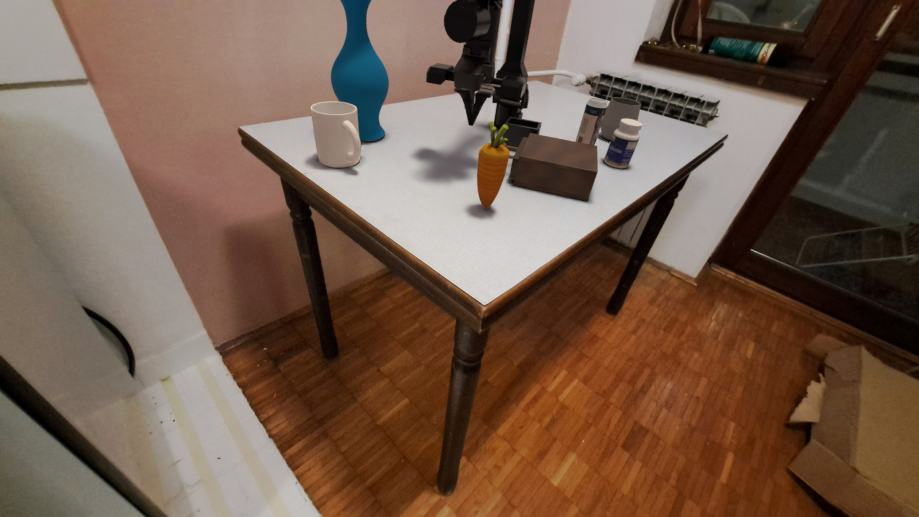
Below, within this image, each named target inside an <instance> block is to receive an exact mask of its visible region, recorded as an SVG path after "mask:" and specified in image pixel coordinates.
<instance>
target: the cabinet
mask: <svg viewBox="0 0 919 517" xmlns="http://www.w3.org/2000/svg"><path fill="white" fill-rule="evenodd" d="M598 164H599V163H598V145H596V144H595V145H590V144H585V143H579V142H575V141H574V140H569V139H564V138H559V137H553V136H549V135H548V136H547V135H543V134H539V135H538V134H533V133H530V134H529V136H528V138H527V141H526V143H525V145H524V147H523V149H522V151H521V154H520V156H519V160H518V165H517V170H516V175H515V180H514V179H513V186H516V187H521V188H526V189H531V190H534V191H540V192H543V193H548V194H554V195H557V196H563V197H567V198H572V199H574V200H576V199H577V200H580V201H585V202H588V201H589V197H590V196H591V192H592V189H593V186H594V183H595V181H596V178H597V175H598V173H599V170H598V169H599V167H598V166H599V165H598Z"/></svg>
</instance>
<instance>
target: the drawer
mask: <svg viewBox="0 0 919 517" xmlns="http://www.w3.org/2000/svg"><path fill="white" fill-rule="evenodd" d="M526 141H527V137H523V139H522V141H521V143H520V145H519V147H518V148H517V147H512V146H507V145H506V143H503V144H502V145H503V146H505V147H506V148H507V149H509V151H512V150H514V151H513V152H514V155H511V154H509V160H511V166H510V171H509V176H508V179H510V180H511V179H512V180H513V181H514V180H515V175H516V170H517V165H518V160H519V156H520V154H521V151H522V149H523V147H524V145H525V143H526Z"/></svg>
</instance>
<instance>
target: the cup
mask: <svg viewBox="0 0 919 517" xmlns="http://www.w3.org/2000/svg"><path fill="white" fill-rule="evenodd" d="M641 106H642V103H641V102H640V101H638V100H635V99H632V98H628V97H619V96H614V97H611V99H610V101H609V102H608V104H607V109H606V112H605V115H604V118H603V121H602V124H601V127H600V132H601V136H602V138H603V139H606V140H608V141H610V142H611V139H612V136H613V133H614V131H615V130H616V129H618V128H619V123H620V121H621V119H633V120H636V121H639V116H640V112H641Z"/></svg>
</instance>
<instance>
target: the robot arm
mask: <svg viewBox="0 0 919 517" xmlns="http://www.w3.org/2000/svg"><path fill="white" fill-rule="evenodd" d="M535 3H536V0H514V1H513V6H512V14H511V20H510V26H509V34H508V40H507V48H506V54H505V60H504V63H503V64H502V66H501V67H500V68H499V69H498V70H497V71H496V64H495V63H496V62H495V56H496V55H495V54H496V50H497V42H498V33H499V27H500V21H501V20H500V19H501V12H502V9H503V6H504V4H503V0H454V1H453V2H451V3H450V4H449V5H448V7H447V8H446V10H445V14H444V15H443V28H444V30H445V33H446V35H447V37H448V38H449V39H450V40H451V41H453V42H455V43H457V44H463V46H462V47H463V48H462V52H461V56H460V58H459V59H458V61H457V62H456V64H455V66H454V65H452V64H446V63H440V62H437V63H434V64H432V65H430V66H429V67H428V68H427V70H426V74H425V83H427V84H433V85H436V86H441V85H442V84H444V83H445V82H446V81H448V82H453V86H454V89H453V91H454V93H457V94H458V95H459V96H460V98H461V100H462V103H463V105H464V106H463V107H464V110H465V114H466V119H467V124H468V126H469V127H473V126H474V125H475V123H476V121H477V119H478V116H479V114H480V112H481V110H482V109H483V106H484V104H485V103H486V101H487V99H492V100H491V103H492V104H496V105H495V112H494V119H493V123H494V127H496V130H498V131H499V130H500V129H501V127H502V126H503V125H505V122H506V121H507V119H508V118H509V117H515V118H521V119H523V115H524V113H523V112H522V111H523V110H524V109H528V108H529V107H528V106H529V101H530V91H529V90H530V89H529V84H528V79H529V73H528V71H527V67H526V65H525V59H526V53H527V48H528V43H529V37H530V31H531V26H532V20H533V14H534V8H535Z"/></svg>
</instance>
